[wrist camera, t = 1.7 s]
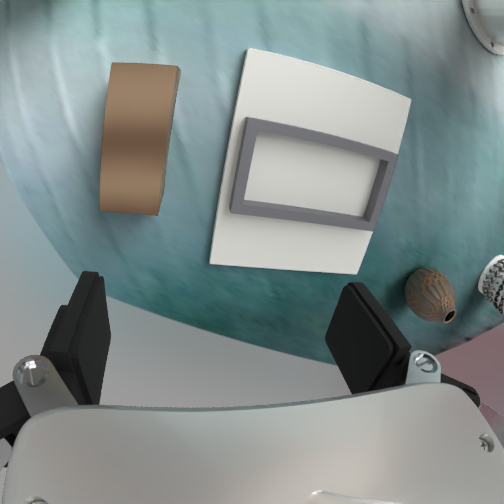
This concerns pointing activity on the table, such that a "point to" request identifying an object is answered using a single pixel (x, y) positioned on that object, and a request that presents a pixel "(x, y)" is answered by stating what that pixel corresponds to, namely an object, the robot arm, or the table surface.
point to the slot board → (305, 166)
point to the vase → (430, 295)
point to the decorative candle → (493, 282)
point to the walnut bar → (137, 136)
